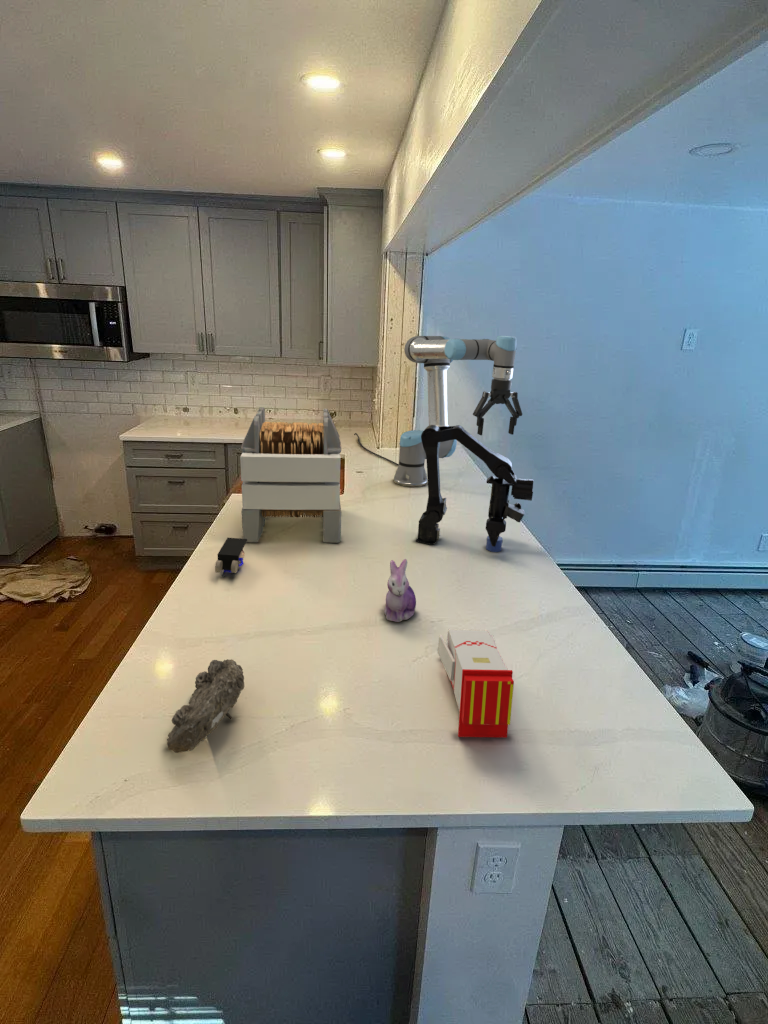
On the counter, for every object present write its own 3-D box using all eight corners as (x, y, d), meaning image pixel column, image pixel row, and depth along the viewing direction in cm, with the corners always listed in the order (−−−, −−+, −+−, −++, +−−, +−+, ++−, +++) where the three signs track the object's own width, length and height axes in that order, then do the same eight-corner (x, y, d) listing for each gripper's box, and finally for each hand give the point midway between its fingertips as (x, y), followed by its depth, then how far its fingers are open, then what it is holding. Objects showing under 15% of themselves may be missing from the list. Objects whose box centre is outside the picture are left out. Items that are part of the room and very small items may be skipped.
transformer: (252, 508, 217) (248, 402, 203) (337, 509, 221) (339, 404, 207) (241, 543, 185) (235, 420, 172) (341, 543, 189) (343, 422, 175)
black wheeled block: (238, 584, 162) (249, 557, 175) (236, 562, 158) (247, 536, 172) (215, 584, 161) (227, 556, 175) (212, 561, 158) (225, 535, 171)
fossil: (192, 660, 117) (244, 628, 112) (224, 691, 120) (276, 661, 115) (142, 746, 98) (202, 712, 93) (182, 779, 101) (242, 748, 96)
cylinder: (485, 551, 189) (487, 539, 187) (485, 545, 194) (487, 534, 192) (501, 552, 188) (502, 541, 187) (501, 546, 193) (502, 535, 191)
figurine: (392, 627, 141) (395, 572, 136) (374, 608, 149) (376, 556, 144) (425, 619, 145) (429, 566, 140) (405, 601, 154) (408, 550, 149)
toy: (488, 613, 130) (523, 677, 101) (484, 667, 133) (517, 744, 104) (435, 612, 130) (455, 676, 101) (432, 666, 133) (451, 743, 103)
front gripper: (524, 508, 174) (518, 555, 180) (524, 491, 191) (519, 534, 197) (488, 504, 177) (483, 550, 182) (491, 487, 194) (486, 530, 199)
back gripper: (476, 380, 207) (470, 437, 214) (536, 380, 214) (528, 435, 222) (467, 377, 214) (462, 432, 221) (525, 377, 221) (518, 431, 229)
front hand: (494, 541), depth 190 cm, fingers open, 9 cm apart
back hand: (495, 434), depth 221 cm, fingers open, 13 cm apart
